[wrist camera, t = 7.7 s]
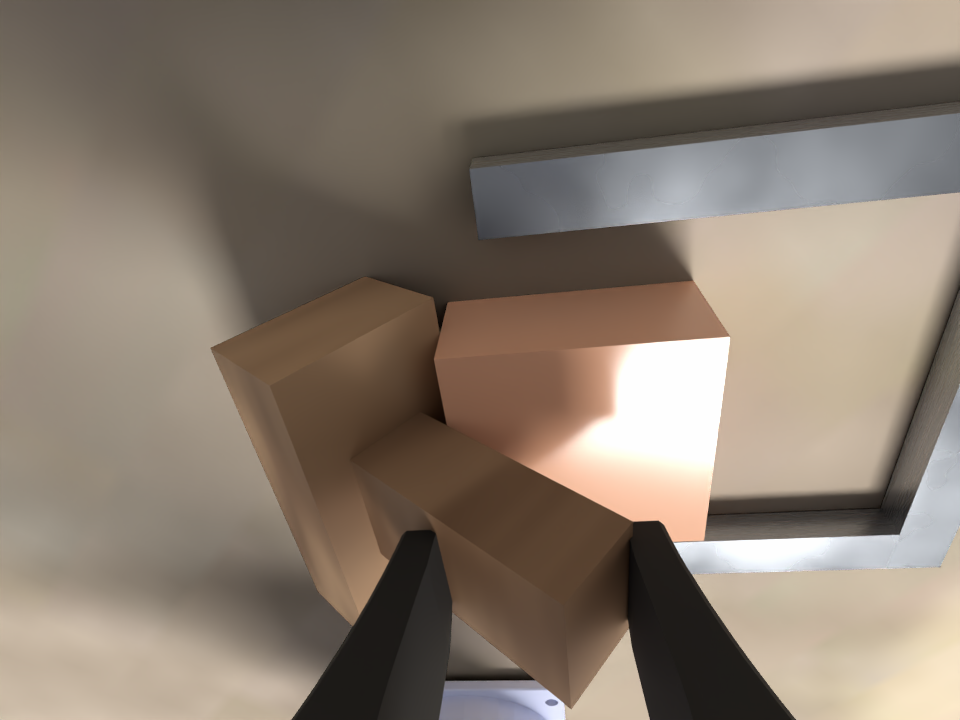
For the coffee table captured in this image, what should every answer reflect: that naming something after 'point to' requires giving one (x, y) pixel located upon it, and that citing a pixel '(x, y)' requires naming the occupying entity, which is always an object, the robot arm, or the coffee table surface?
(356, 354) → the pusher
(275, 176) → the coffee table surface
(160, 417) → the coffee table surface
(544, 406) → the tile
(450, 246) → the coffee table surface
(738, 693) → the robot arm
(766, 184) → the frame
